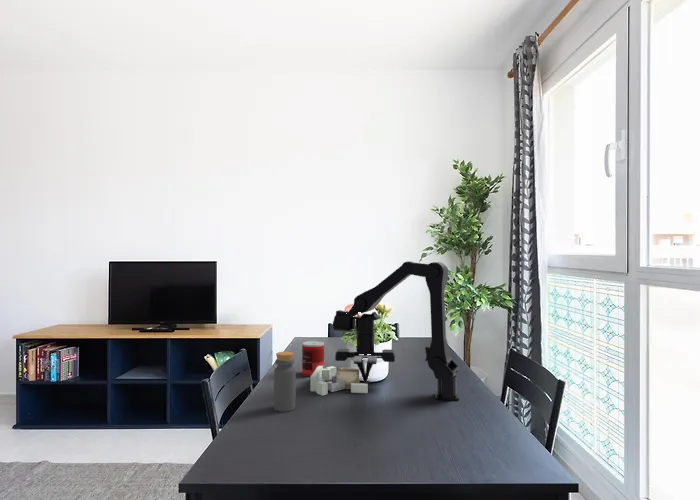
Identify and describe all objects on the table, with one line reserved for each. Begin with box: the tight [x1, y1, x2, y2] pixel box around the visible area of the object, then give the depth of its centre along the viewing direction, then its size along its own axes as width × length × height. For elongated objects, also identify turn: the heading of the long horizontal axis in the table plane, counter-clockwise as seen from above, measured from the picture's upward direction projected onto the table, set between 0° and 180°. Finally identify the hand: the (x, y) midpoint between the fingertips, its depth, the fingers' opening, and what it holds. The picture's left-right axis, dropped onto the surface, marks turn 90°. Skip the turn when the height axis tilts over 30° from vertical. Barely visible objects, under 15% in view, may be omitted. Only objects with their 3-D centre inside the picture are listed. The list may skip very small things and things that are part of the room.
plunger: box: [333, 366, 343, 376], centre depth 148 cm, size 5×2×4 cm, turn 39°
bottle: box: [273, 351, 297, 413], centre depth 121 cm, size 6×6×15 cm
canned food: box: [301, 340, 325, 378], centre depth 157 cm, size 8×8×11 cm
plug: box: [336, 367, 360, 390], centre depth 142 cm, size 7×7×5 cm
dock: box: [309, 366, 369, 396], centre depth 143 cm, size 22×18×4 cm
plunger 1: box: [327, 376, 346, 393], centre depth 138 cm, size 5×2×4 cm, turn 129°
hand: (365, 382), depth 142 cm, fingers closed
